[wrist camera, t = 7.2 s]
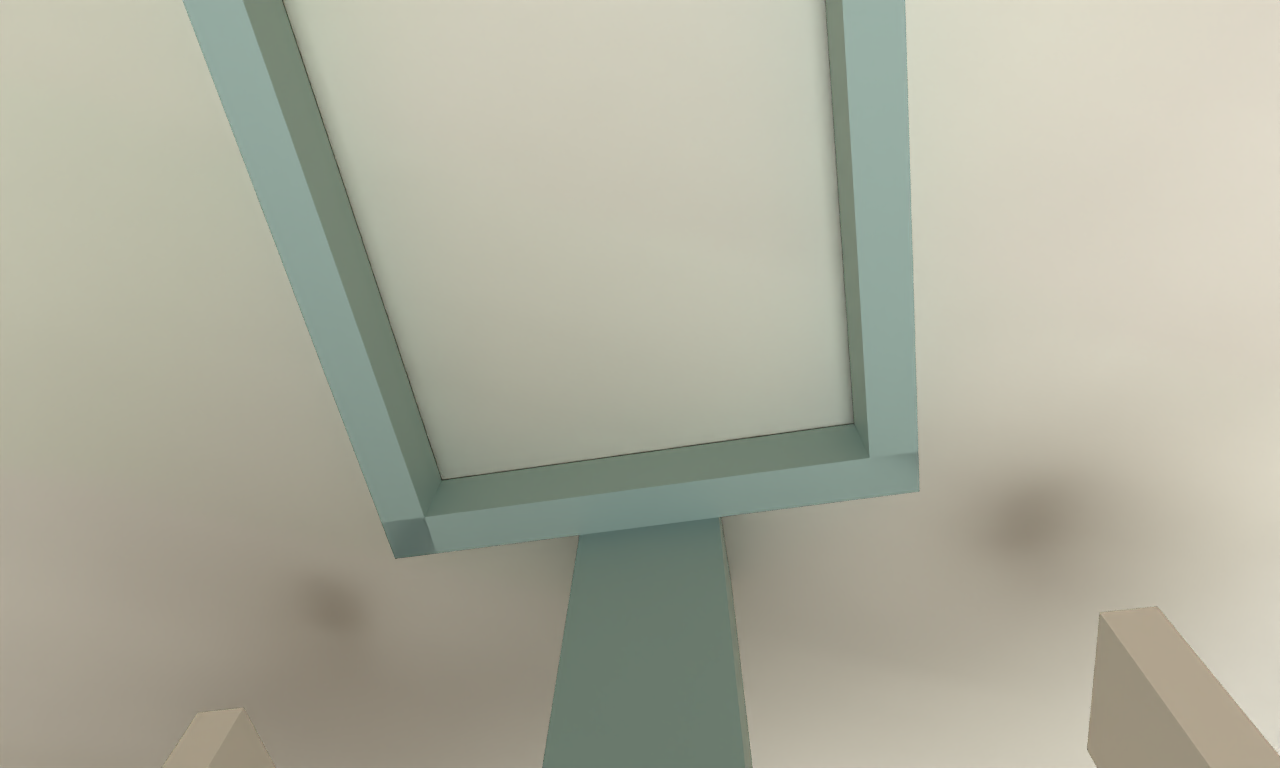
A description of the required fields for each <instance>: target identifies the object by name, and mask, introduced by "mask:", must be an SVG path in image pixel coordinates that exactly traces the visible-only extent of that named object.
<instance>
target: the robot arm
mask: <svg viewBox="0 0 1280 768" xmlns="http://www.w3.org/2000/svg"><path fill="white" fill-rule="evenodd" d="M1087 750H1088V752H1089V754H1090V756H1091V758H1092V759H1093V761H1094V763H1095V765H1096V766H1097V768H1280V756H1279V755H1278V753H1277V752H1276V751H1275V750H1274V748H1273V747H1272V746H1271V745H1270V744H1269V742H1268V741H1267V740H1266V739H1265V737H1264V736H1263V735H1262V734H1261V733H1260V731H1259V730H1258V729H1257V728H1256V726H1255V725H1254V724H1253V723H1252V722H1251V720H1250V719H1249V718H1248V717H1247V715H1246V714H1245V713H1244V712H1243V711H1242V709H1241V708H1240V707H1239V706H1238V704H1237V703H1236V702H1235V701H1234V700H1233V698H1232V697H1231V696H1230V695H1229V693H1228V692H1227V691H1226V690H1225V689H1224V687H1223V686H1222V685H1221V684H1220V682H1219V681H1218V680H1217V679H1216V678H1215V676H1214V675H1213V674H1212V673H1211V671H1210V670H1209V669H1208V668H1207V667H1206V665H1205V664H1204V663H1203V662H1202V660H1201V659H1200V658H1199V657H1198V656H1197V654H1196V653H1195V652H1194V651H1193V649H1192V648H1191V647H1190V646H1189V645H1188V643H1187V642H1186V641H1185V640H1184V638H1183V637H1182V636H1181V635H1180V634H1179V632H1178V631H1177V630H1176V629H1175V627H1174V626H1173V625H1172V624H1171V623H1170V621H1169V620H1168V619H1167V618H1166V616H1165V615H1164V614H1163V613H1162V612H1161V610H1160V609H1159V608H1158V607H1157V606H1154V607H1145V608H1136V609H1127V610H1118V611H1109V612H1100V615H1099V625H1098V636H1097V647H1096V658H1095V668H1094V679H1093V690H1092V701H1091V711H1090V722H1089V733H1088V743H1087ZM162 768H276V767H275V765H274V763H273V761H272V760H271V758H270V756H269V754H268V752H267V750H266V748H265V746H264V745H263V743H262V741H261V739H260V737H259V735H258V733H257V732H256V730H255V728H254V726H253V724H252V722H251V720H250V718H249V717H248V715H247V713H246V711H245V709H244V707H243V708H234V709H225V710H216V711H207V712H198V713H197V715H196V716H195V718H194V719H193V721H192V722H191V724H190V725H189V727H188V729H187V730H186V732H185V733H184V735H183V736H182V738H181V739H180V741H179V742H178V744H177V745H176V747H175V748H174V750H173V751H172V753H171V754H170V756H169V757H168V759H167V760H166V762H165V763H164V765H163V766H162Z"/></svg>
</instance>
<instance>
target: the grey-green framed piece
mask: <svg viewBox="0 0 1280 768" xmlns="http://www.w3.org/2000/svg"><path fill="white" fill-rule="evenodd" d="M825 2H826V17H827V32H828V46H829V61H830V76H831V90H832V105H833V120H834V134H835V149H836V164H837V179H838V193H839V208H840V223H841V237H842V252H843V267H844V282H845V296H846V311H847V326H848V340H849V355H850V370H851V384H852V399H853V414H854V424H849V425H842V426H835V427H827V428H820V429H813V430H806V431H798V432H791V433H784V434H777V435H769V436H762V437H755V438H748V439H740V440H733V441H726V442H719V443H711V444H704V445H697V446H690V447H682V448H675V449H668V450H660V451H653V452H646V453H639V454H631V455H624V456H617V457H610V458H602V459H595V460H588V461H581V462H573V463H566V464H559V465H552V466H544V467H537V468H530V469H523V470H515V471H508V472H501V473H493V474H486V475H479V476H472V477H464V478H457V479H450V480H443V481H442V480H441V477H440V474H439V471H438V468H437V465H436V462H435V459H434V456H433V453H432V450H431V447H430V444H429V441H428V438H427V435H426V432H425V429H424V426H423V423H422V420H421V417H420V414H419V411H418V408H417V405H416V402H415V399H414V396H413V393H412V390H411V387H410V384H409V381H408V378H407V375H406V372H405V369H404V366H403V363H402V360H401V357H400V354H399V351H398V348H397V345H396V342H395V339H394V336H393V333H392V330H391V327H390V324H389V321H388V318H387V315H386V312H385V309H384V306H383V303H382V300H381V297H380V294H379V291H378V288H377V285H376V282H375V279H374V276H373V273H372V270H371V267H370V264H369V261H368V258H367V255H366V252H365V249H364V246H363V242H362V239H361V236H360V233H359V230H358V227H357V224H356V221H355V218H354V215H353V212H352V209H351V206H350V203H349V200H348V197H347V194H346V191H345V188H344V185H343V182H342V179H341V176H340V173H339V170H338V167H337V164H336V161H335V158H334V155H333V152H332V149H331V146H330V143H329V140H328V137H327V134H326V131H325V128H324V125H323V122H322V119H321V116H320V113H319V110H318V107H317V104H316V101H315V98H314V95H313V92H312V89H311V86H310V83H309V80H308V77H307V74H306V71H305V68H304V65H303V62H302V59H301V56H300V53H299V50H298V47H297V44H296V41H295V38H294V35H293V32H292V29H291V26H290V23H289V20H288V17H287V14H286V11H285V8H284V5H283V2H282V0H183V3H184V5H185V8H186V11H187V13H188V16H189V18H190V21H191V24H192V26H193V29H194V32H195V34H196V37H197V39H198V42H199V45H200V47H201V50H202V53H203V55H204V58H205V60H206V63H207V66H208V68H209V71H210V74H211V76H212V79H213V81H214V84H215V87H216V89H217V92H218V95H219V97H220V100H221V102H222V105H223V108H224V110H225V113H226V116H227V118H228V121H229V123H230V126H231V129H232V131H233V134H234V137H235V139H236V142H237V144H238V147H239V150H240V152H241V155H242V158H243V160H244V163H245V165H246V168H247V171H248V173H249V176H250V179H251V181H252V184H253V187H254V189H255V192H256V194H257V197H258V200H259V202H260V205H261V208H262V210H263V213H264V215H265V218H266V221H267V223H268V226H269V229H270V231H271V234H272V236H273V239H274V242H275V244H276V247H277V250H278V252H279V255H280V257H281V260H282V263H283V265H284V268H285V271H286V273H287V276H288V278H289V281H290V284H291V286H292V289H293V292H294V294H295V297H296V299H297V302H298V305H299V307H300V310H301V313H302V315H303V318H304V320H305V323H306V326H307V328H308V331H309V334H310V336H311V339H312V341H313V344H314V347H315V349H316V352H317V355H318V357H319V360H320V362H321V365H322V368H323V370H324V373H325V376H326V378H327V381H328V383H329V386H330V389H331V391H332V394H333V397H334V399H335V402H336V404H337V407H338V410H339V412H340V415H341V418H342V420H343V423H344V425H345V428H346V431H347V433H348V436H349V439H350V441H351V444H352V446H353V449H354V452H355V454H356V457H357V460H358V462H359V465H360V467H361V470H362V473H363V475H364V478H365V481H366V483H367V486H368V488H369V491H370V494H371V496H372V499H373V502H374V504H375V507H376V509H377V512H378V515H379V517H380V520H381V523H382V525H383V528H384V530H385V533H386V536H387V538H388V541H389V544H390V546H391V549H392V551H393V554H394V557H395V559H397V558H405V557H412V556H420V555H428V554H436V553H444V552H451V551H459V550H467V549H475V548H483V547H490V546H498V545H506V544H514V543H522V542H529V541H537V540H545V539H553V538H561V537H568V536H576V535H579V542H578V548H577V554H576V560H575V567H574V573H573V579H572V585H571V592H570V598H569V604H568V610H567V617H566V623H565V629H564V635H563V642H562V648H561V654H560V660H559V667H558V673H557V679H556V685H555V692H554V698H553V704H552V710H551V717H550V723H549V729H548V735H547V742H546V748H545V754H544V760H543V767H542V768H753V767H752V758H751V750H750V741H749V732H748V724H747V715H746V706H745V698H744V689H743V680H742V672H741V663H740V654H739V646H738V637H737V628H736V620H735V611H734V602H733V594H732V585H731V578H730V572H729V566H728V560H727V553H726V547H725V541H724V534H723V528H722V522H721V517H724V516H732V515H740V514H748V513H755V512H763V511H771V510H779V509H787V508H794V507H802V506H810V505H818V504H826V503H833V502H841V501H849V500H857V499H865V498H872V497H880V496H888V495H896V494H904V493H911V492H919V460H918V426H917V392H916V358H915V324H914V289H913V255H912V221H911V187H910V153H909V118H908V84H907V50H906V16H905V0H825Z"/></svg>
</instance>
